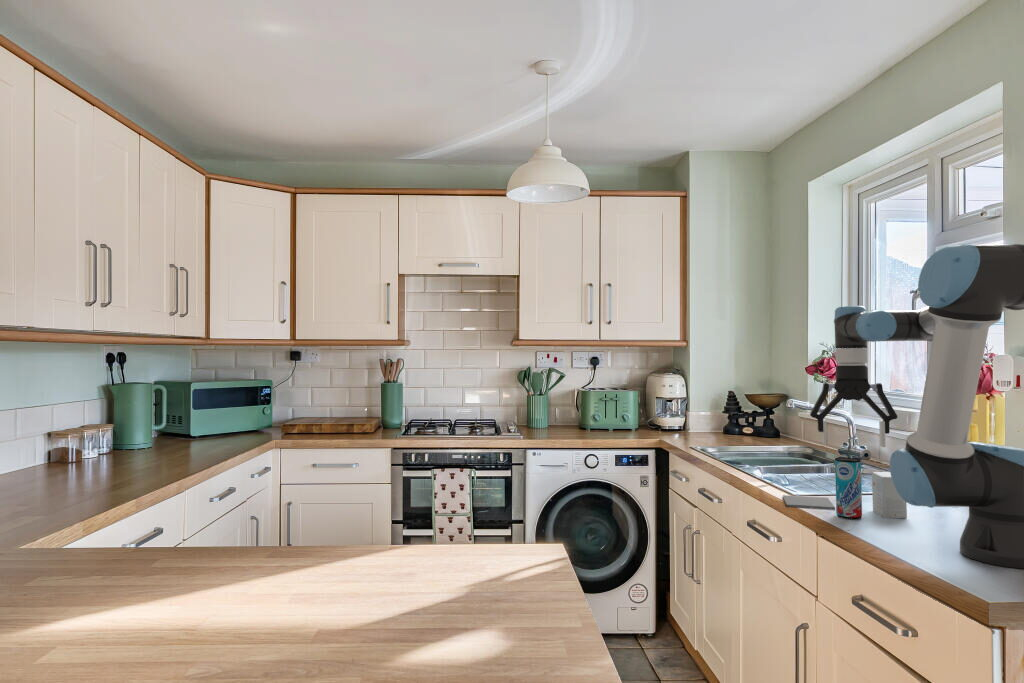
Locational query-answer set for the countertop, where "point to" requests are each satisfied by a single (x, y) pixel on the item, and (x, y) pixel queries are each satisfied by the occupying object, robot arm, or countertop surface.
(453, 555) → the countertop surface
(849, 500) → the beverage can
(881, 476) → the small box
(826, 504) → the coaster
